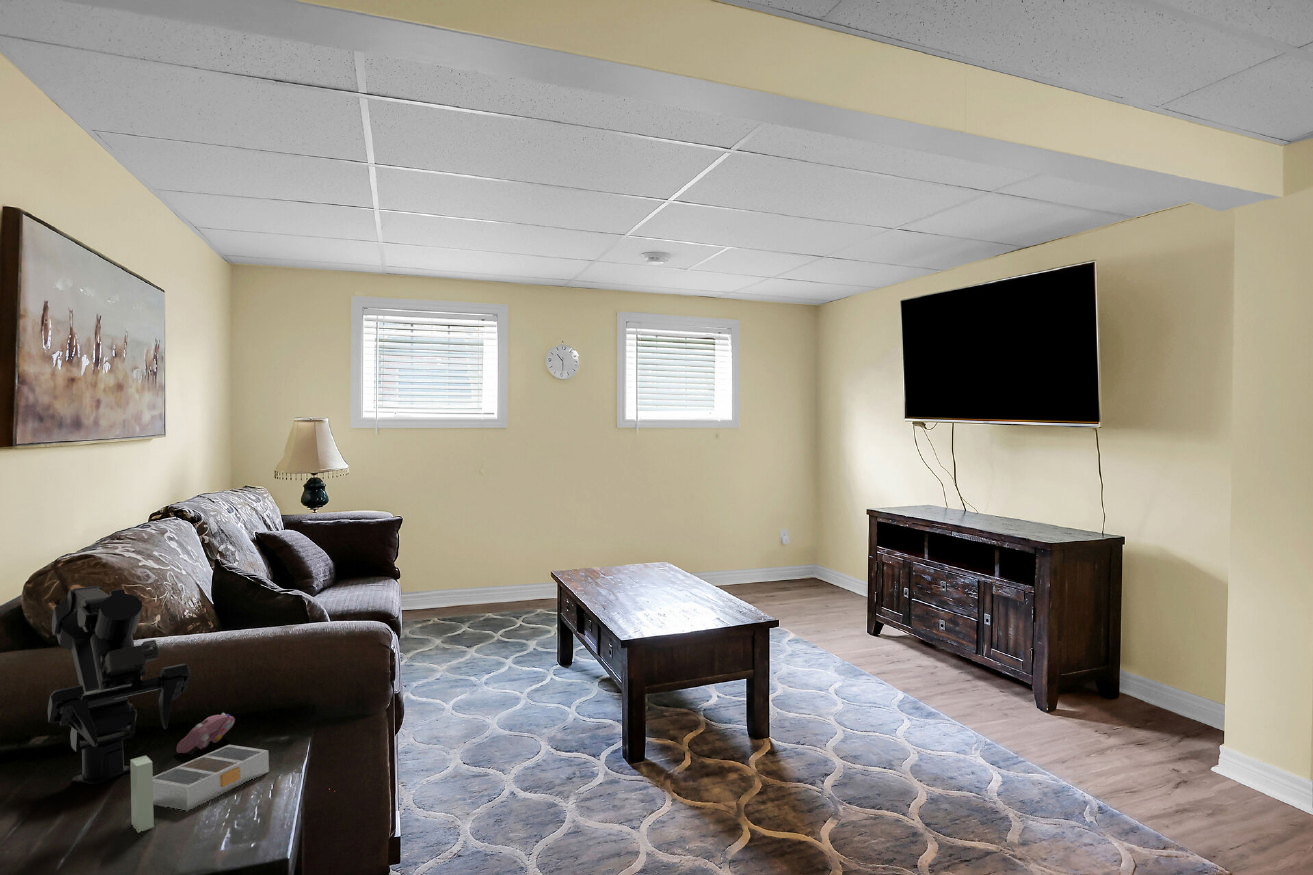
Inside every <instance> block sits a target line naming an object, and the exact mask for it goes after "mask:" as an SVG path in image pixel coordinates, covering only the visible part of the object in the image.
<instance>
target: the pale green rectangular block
mask: <svg viewBox="0 0 1313 875" xmlns="http://www.w3.org/2000/svg"><path fill="white" fill-rule="evenodd" d="M130 767H131V771H130V801H131V802H130V803H131V805H130V806H131V814H130V815H131V826H132V825H133V826H132V827H133V829H134V830H135V829H136V830H135V831H136V832H137V833H138V834H139V833H141V831H142V832H144V831H147V830H150V829H153V828H155V825H154V821H155V820H154V805H153V777H154V775H153V774H154V773H153V772H154V771H153V761H152V760H151V758H149V757H148V756H147V755H142V756H138V757H135V758H132V759H130Z"/></svg>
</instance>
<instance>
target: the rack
mask: <svg viewBox="0 0 1313 875" xmlns="http://www.w3.org/2000/svg"><path fill="white" fill-rule="evenodd" d="M269 757H270V756H269V750H267V749H262V748H254V747H248V746H242V745H241V746H240V745H233V744H227V745H225V746H223V747H220V748H218V749H215V750H214V751H211V752H208V753H206V754H204V755H201V756H200V757H199V756H198V757H196V758H194V759H192V760H190V761H187V762H185V763H182V764H180V765H178V766H175V767H173V768H171V769H168V770H165V771H163V772H161V773H159V774H157V775H153V806H157V805H158V807H163V808H167V807H170V808H169V809H172V808H175V809H174V810H177V809H183V810H186V811H185V812H189V811H188V810H189V809H192V810H193V808H194V809H196V808H198V807H199V806H198V805H200V806H202V805H204V804H205V803H206V804H207V803H208V802H210V801H211V800H210V799H212V800H214V799H216V798H218V797H220V796H221V795H220V794H222V795H223V793H224V792H226V793H228V792H229V791H228V790H230V789H232V788H234V787H236V786H239V785H241V784H243V783H244V782H246V781H249V780H251V779H253V780H255V779H257V778H259V777H261V776H263V775H266V774H267V773H269V772H270V766H269V764H270V762H269V760H270V759H269ZM256 777H257V778H256ZM254 778H255V779H254ZM251 781H252V780H251ZM249 782H250V781H249ZM243 785H244V784H243ZM241 786H242V785H241ZM239 787H240V786H239ZM227 791H228V792H227ZM230 791H231V790H230ZM224 794H225V793H224ZM219 795H220V796H219ZM217 796H218V797H217ZM215 797H216V798H215ZM213 798H214V799H213ZM209 800H210V801H209ZM207 801H208V802H207ZM203 803H204V804H203ZM201 804H202V805H201ZM197 806H198V807H197ZM195 807H196V808H195ZM176 808H177V809H176Z"/></svg>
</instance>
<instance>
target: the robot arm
mask: <svg viewBox="0 0 1313 875" xmlns="http://www.w3.org/2000/svg"><path fill="white" fill-rule="evenodd" d="M142 609H143V603H142V600H140V599H139V597H137V596H135V595H133V594H130V593H126V591H125V589H124V588H123V589H115V590H110V591H109V594H108V593H107V592H105V591H104V590H103V587H102V586H98V585H93V586H90V585H89V586H83V587H76V588H75V587H74V588H73V589H70V590H68V592H67V597H66V598H65V599H64V600H62V601H61V602H60V603H58V604H57V605H56V606H55V607H54V608H53V614H52V617H51V631H52V635H53V636H56V638H57V642H58V644H59V646H60V647H63V648H64V649H66V650H69V651H71V654H72V658H73V662H74V667H75V670H76V675H77V680H78V683H79V684H78V685H73V686H69V687H63V688H58V689H55V690H53V691H52V692H51V693H50V694H49V700H48V706H47V719H48V723H49V724H51V725H54V724H59V726H62V727H63V726H64V727H65V726H69V727H71V730H70V732H69V733H70V738H69V739H70V746H71V748H72V749H73V750H74V752H76V753H77V752H80V751H81V755H82V756H81V760H82V761H81V763H82V765H81V766H82V768H81V769H82V770H81V772H82V773H81V774H79V775H76V776H74V777H73V778H72V781H73V782H78V783H81V784H82V783H83V784H87V785H98V784H102V783H103V782H105V781H109V780H110V779H113V778H116V777H118V776H120V775H122V774H125V773H128V772H131V765H129V766H128V765H124V764H125V762H124V740H125V739H128V738H133V737H134V735H135V734H136V721H137V716H138V710H137V709H135V707H134V704H133V703H130V702H129V699H128V697H130V696H135V695H139V694H144V693H149V692H152V691H153V692H154V691H157V693H158V696H159V697H158V700H157V702H158V707H159V715H160V721H161V722H160V723H161V726H162V727H163V730H165V729H167V728H168V724H169V718H170V715H171V714H170V712H171V706H172V702H173V701H174V700H178V698H180V695H183V694H184V693H186V692H187V690H188V687H189V685H190V681H191V678H192V675H193V674H192V670H191V667H190V665H188V664H186V663H180V664H176V665H171V666H170V665H169V666H166V667H162V668H161V670H160V673H159V677H158V676H157V677H153V678H148V679H143V676H145V674H146V667H145V666H146V665H147V662H148V663H149V662H154V661H156V659H158V657H159V648H158V644H157V640H156V639H150V640H145V641H143V642H142V643H141V644H139V645H136V644H135V642H134V638H133V635H134V634H135V633H136V632H137V629H138V624H139V621H140V618H141V614H142Z"/></svg>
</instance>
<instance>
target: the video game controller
mask: <svg viewBox="0 0 1313 875" xmlns="http://www.w3.org/2000/svg"><path fill="white" fill-rule="evenodd" d="M235 721H236V719H235V717H234V716H232V715H230V714H229V713H225V712H222V713H221V714H214V715H211V716H208V717H207V718H205V719H204V720H203V721H202V722H200V723H198V724H197V723H196V725H195V726H194V727H193V728H192V729H191V730H190V731H189V732H188V733H187V735H186V736H185V737H184V738H182V739H181V740H180V741H179V742H178V743H177V745H176V748H175V749H176V753H178V754H179V753H183V754H186V753H188V752H190V751H191V750H193V749H194V748H196V747H197V748H198V749H200V750H203V749H202V748H204V747H205V748H207V747H208V745H209V744H210V742H212V743H214V744H215V743H218V742H220V740H221V739H222V738H223V737H224V735H226V733H227V732H228V731H229V730H230V729H231V728H232V727H233V726H234V724H235ZM205 748H204V749H205Z"/></svg>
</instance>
